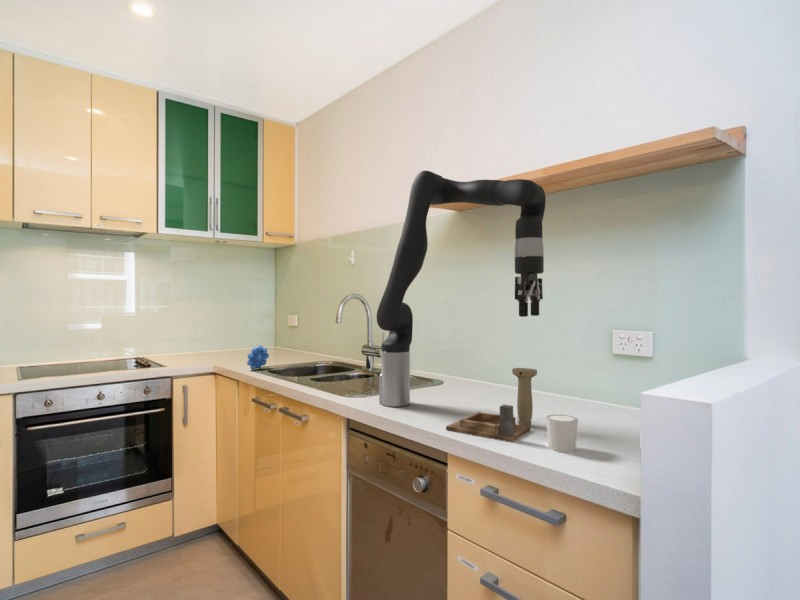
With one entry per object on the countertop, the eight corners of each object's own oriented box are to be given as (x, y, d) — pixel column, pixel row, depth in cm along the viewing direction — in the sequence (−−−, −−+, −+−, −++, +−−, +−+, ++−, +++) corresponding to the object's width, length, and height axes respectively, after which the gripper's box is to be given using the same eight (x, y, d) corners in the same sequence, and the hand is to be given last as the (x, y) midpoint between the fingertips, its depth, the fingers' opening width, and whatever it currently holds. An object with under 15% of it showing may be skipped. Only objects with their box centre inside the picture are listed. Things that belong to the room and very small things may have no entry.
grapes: (264, 367, 236) (264, 344, 236) (271, 368, 232) (271, 345, 232) (243, 370, 228) (242, 345, 228) (249, 371, 223) (249, 346, 223)
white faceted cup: (545, 451, 101) (544, 420, 101) (546, 442, 108) (546, 412, 108) (578, 455, 99) (578, 422, 99) (578, 445, 105) (577, 415, 105)
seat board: (446, 430, 119) (445, 399, 119) (467, 420, 129) (467, 391, 129) (512, 442, 108) (511, 408, 108) (530, 430, 118) (530, 399, 118)
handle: (517, 421, 127) (517, 367, 127) (540, 425, 123) (539, 369, 123) (509, 425, 123) (509, 369, 123) (532, 429, 119) (532, 371, 119)
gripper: (525, 258, 131) (525, 315, 131) (505, 254, 120) (505, 316, 120) (551, 257, 127) (551, 315, 127) (533, 252, 116) (533, 317, 115)
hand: (529, 316), depth 123 cm, fingers open, 8 cm apart
